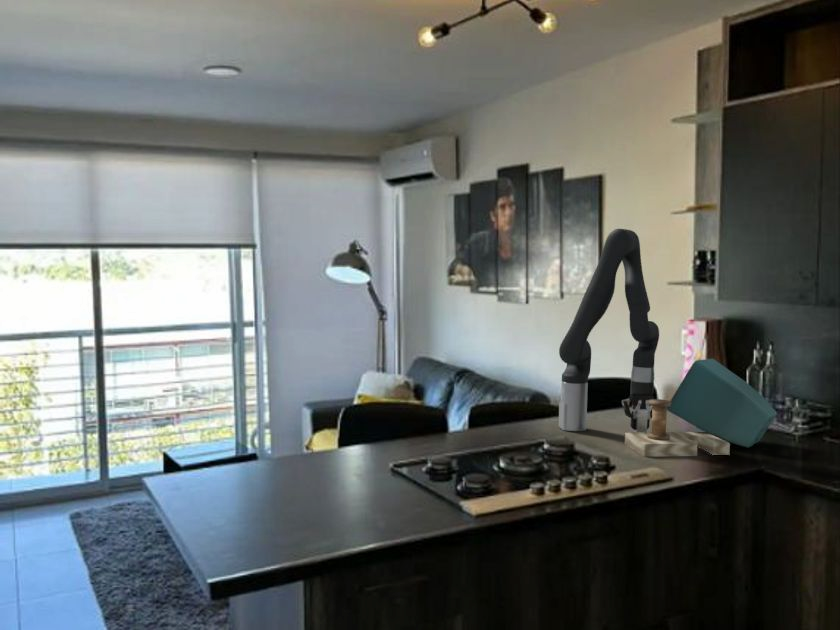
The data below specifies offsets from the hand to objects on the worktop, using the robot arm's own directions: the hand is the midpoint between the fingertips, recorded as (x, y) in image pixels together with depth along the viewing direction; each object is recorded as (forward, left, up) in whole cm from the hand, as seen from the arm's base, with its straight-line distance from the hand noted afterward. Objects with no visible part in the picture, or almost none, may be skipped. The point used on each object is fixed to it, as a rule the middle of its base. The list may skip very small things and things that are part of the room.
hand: (639, 429), depth 257 cm
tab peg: (0, 0, -1) cm, 1 cm away
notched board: (+6, -14, -4) cm, 16 cm away
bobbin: (0, -14, 0) cm, 14 cm away
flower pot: (+37, -14, +2) cm, 39 cm away
